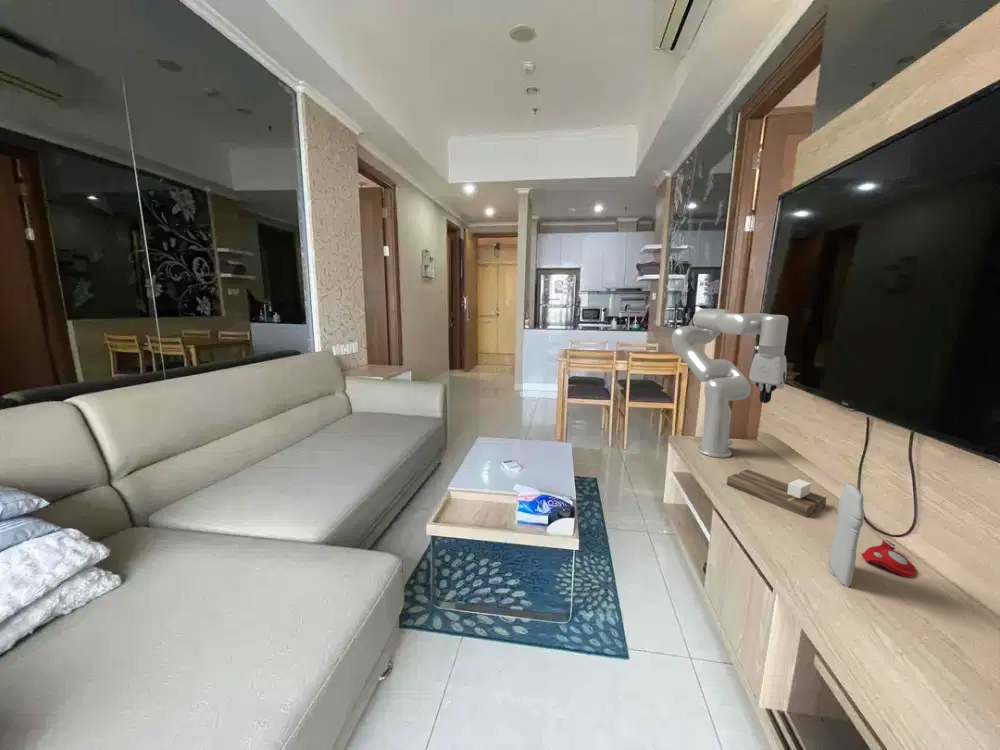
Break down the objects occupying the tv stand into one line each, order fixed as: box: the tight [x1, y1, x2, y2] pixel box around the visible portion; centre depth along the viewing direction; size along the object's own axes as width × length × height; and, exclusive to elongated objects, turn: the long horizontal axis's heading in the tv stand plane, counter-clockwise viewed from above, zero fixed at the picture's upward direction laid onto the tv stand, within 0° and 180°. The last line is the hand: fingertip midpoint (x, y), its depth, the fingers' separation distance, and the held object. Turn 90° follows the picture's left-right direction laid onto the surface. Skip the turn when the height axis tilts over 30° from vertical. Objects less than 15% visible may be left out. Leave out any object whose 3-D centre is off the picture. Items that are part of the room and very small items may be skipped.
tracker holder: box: [860, 537, 917, 578], centre depth 99 cm, size 12×4×10 cm
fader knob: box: [787, 478, 812, 498], centre depth 126 cm, size 6×4×5 cm, turn 120°
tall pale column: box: [828, 482, 865, 587], centre depth 93 cm, size 11×4×22 cm, turn 157°
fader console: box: [726, 468, 827, 518], centre depth 132 cm, size 12×24×3 cm, turn 30°
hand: (764, 402), depth 143 cm, fingers closed
